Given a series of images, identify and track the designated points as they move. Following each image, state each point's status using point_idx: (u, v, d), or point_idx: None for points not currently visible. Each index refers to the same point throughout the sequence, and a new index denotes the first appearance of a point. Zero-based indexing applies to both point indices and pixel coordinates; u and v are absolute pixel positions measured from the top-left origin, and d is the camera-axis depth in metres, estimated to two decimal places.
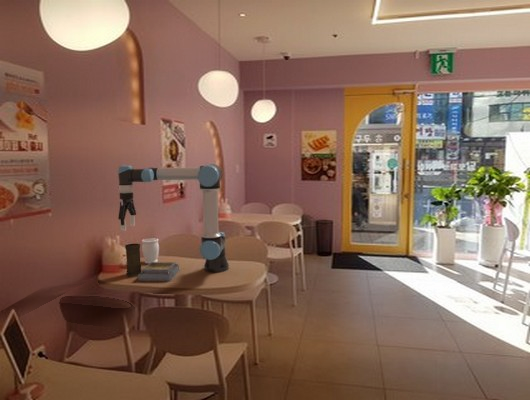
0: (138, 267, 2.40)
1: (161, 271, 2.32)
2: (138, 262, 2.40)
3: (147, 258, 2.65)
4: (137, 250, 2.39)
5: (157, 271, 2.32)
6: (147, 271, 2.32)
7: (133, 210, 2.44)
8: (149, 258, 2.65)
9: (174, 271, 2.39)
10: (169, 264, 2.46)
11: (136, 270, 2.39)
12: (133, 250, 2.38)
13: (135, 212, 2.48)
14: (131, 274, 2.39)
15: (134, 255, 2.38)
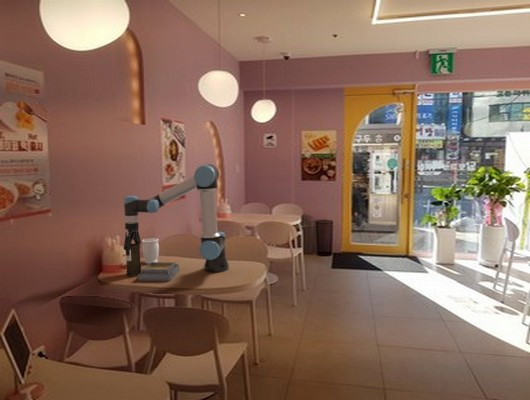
0: (138, 267, 2.40)
1: (161, 271, 2.32)
2: (138, 262, 2.40)
3: (147, 258, 2.65)
4: (137, 250, 2.39)
5: (157, 271, 2.32)
6: (147, 271, 2.32)
7: (138, 239, 2.47)
8: (149, 258, 2.65)
9: (174, 271, 2.39)
10: (169, 264, 2.46)
11: (136, 270, 2.39)
12: (133, 250, 2.38)
13: (140, 241, 2.50)
14: (131, 274, 2.39)
15: (134, 255, 2.38)
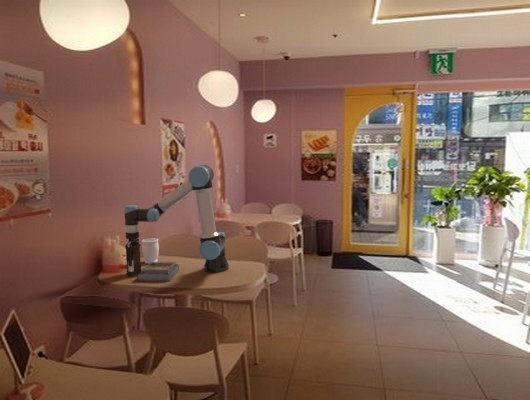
0: (138, 267, 2.40)
1: (161, 271, 2.32)
2: (138, 262, 2.40)
3: (147, 258, 2.65)
4: (137, 250, 2.39)
5: (157, 271, 2.32)
6: (147, 271, 2.32)
7: None
8: (149, 258, 2.65)
9: (174, 271, 2.39)
10: (169, 264, 2.46)
11: (136, 270, 2.39)
12: (133, 250, 2.38)
13: None
14: (131, 274, 2.39)
15: (134, 255, 2.38)
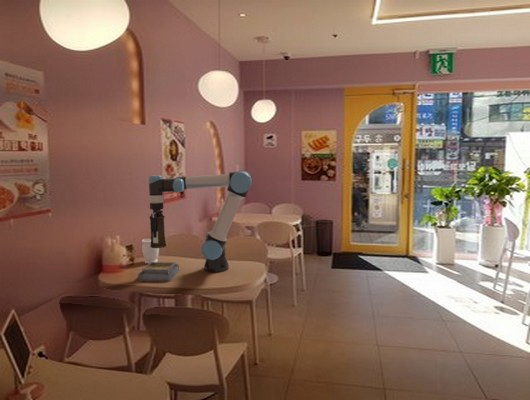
0: (162, 239, 2.35)
1: (161, 271, 2.32)
2: (162, 233, 2.35)
3: (147, 258, 2.65)
4: (161, 221, 2.34)
5: (157, 271, 2.32)
6: (147, 271, 2.32)
7: None
8: (149, 258, 2.65)
9: (174, 271, 2.39)
10: (169, 264, 2.46)
11: (160, 242, 2.34)
12: (158, 221, 2.33)
13: None
14: (155, 246, 2.34)
15: (159, 226, 2.33)
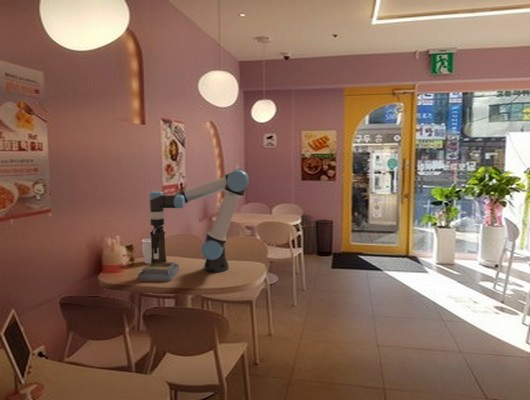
0: (163, 254, 2.36)
1: (161, 271, 2.32)
2: (163, 249, 2.37)
3: (147, 258, 2.65)
4: (162, 237, 2.35)
5: (157, 271, 2.32)
6: (147, 271, 2.32)
7: None
8: (149, 258, 2.65)
9: (174, 271, 2.39)
10: (169, 264, 2.46)
11: (161, 257, 2.36)
12: (158, 237, 2.34)
13: None
14: (156, 261, 2.35)
15: (159, 242, 2.34)
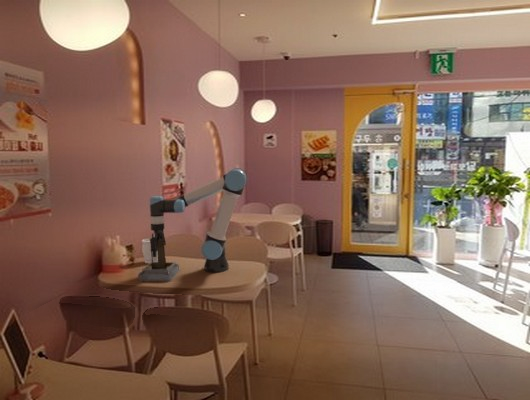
0: (163, 261, 2.37)
1: (161, 271, 2.32)
2: (163, 256, 2.37)
3: (147, 258, 2.65)
4: (162, 243, 2.36)
5: (157, 271, 2.32)
6: (147, 271, 2.32)
7: None
8: (149, 258, 2.65)
9: (174, 271, 2.39)
10: (169, 264, 2.46)
11: (161, 264, 2.36)
12: (158, 243, 2.34)
13: (165, 242, 2.47)
14: (156, 268, 2.35)
15: (159, 249, 2.35)
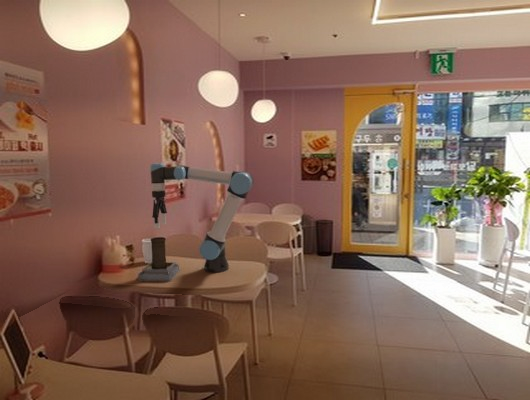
0: (163, 261, 2.37)
1: (161, 271, 2.32)
2: (163, 256, 2.37)
3: (147, 258, 2.65)
4: (163, 244, 2.36)
5: (157, 271, 2.32)
6: (147, 271, 2.32)
7: (164, 208, 2.44)
8: (149, 258, 2.65)
9: (174, 271, 2.39)
10: (169, 264, 2.46)
11: (162, 264, 2.36)
12: (159, 244, 2.34)
13: (166, 210, 2.47)
14: (157, 268, 2.35)
15: (160, 249, 2.35)
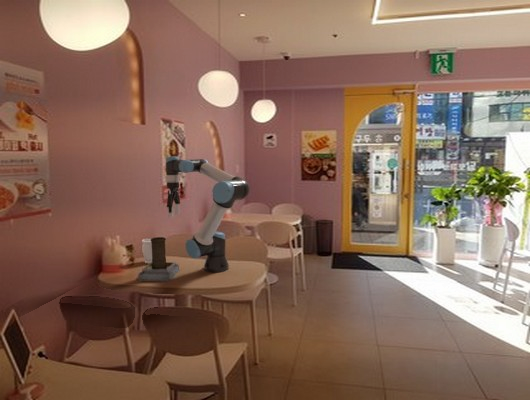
0: (163, 261, 2.37)
1: (161, 271, 2.32)
2: (163, 256, 2.37)
3: (147, 258, 2.65)
4: (163, 244, 2.36)
5: (157, 271, 2.32)
6: (147, 271, 2.32)
7: (178, 199, 2.58)
8: (149, 258, 2.65)
9: (174, 271, 2.39)
10: (169, 264, 2.46)
11: (162, 264, 2.36)
12: (159, 244, 2.34)
13: (179, 201, 2.61)
14: (157, 268, 2.35)
15: (160, 249, 2.35)
